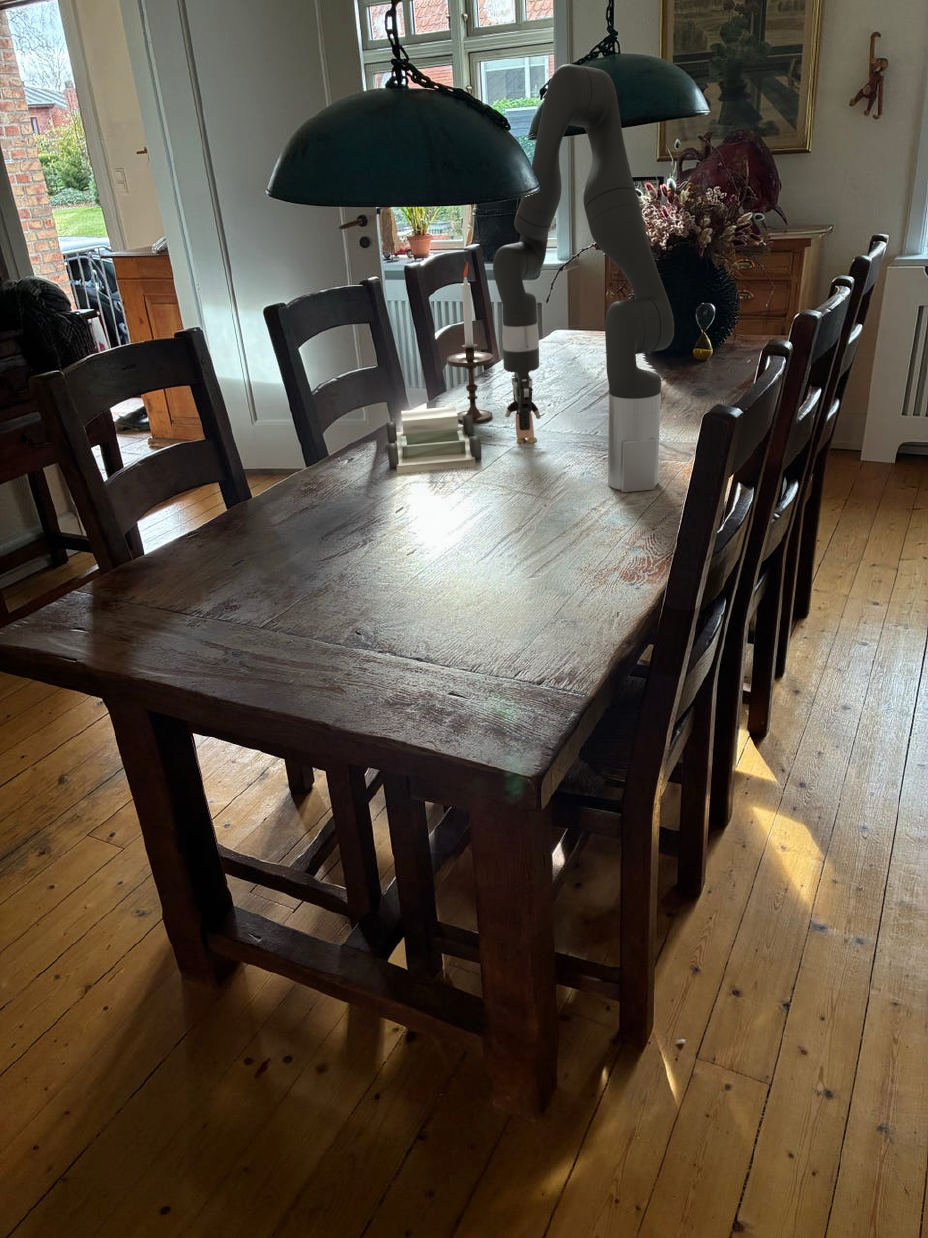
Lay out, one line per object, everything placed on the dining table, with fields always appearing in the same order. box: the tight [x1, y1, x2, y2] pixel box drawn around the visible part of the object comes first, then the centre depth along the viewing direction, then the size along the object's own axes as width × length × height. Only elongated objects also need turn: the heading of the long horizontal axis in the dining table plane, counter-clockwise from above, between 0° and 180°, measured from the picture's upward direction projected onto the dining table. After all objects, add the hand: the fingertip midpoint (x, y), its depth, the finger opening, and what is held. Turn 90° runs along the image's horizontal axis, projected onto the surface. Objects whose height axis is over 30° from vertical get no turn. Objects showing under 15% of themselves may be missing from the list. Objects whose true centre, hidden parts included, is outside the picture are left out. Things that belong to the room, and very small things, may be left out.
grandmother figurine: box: [504, 391, 542, 444], centre depth 197 cm, size 8×4×13 cm, turn 84°
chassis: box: [386, 406, 482, 474], centre depth 196 cm, size 24×19×6 cm
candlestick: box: [446, 261, 495, 425], centre depth 210 cm, size 11×11×35 cm
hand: (523, 426), depth 199 cm, fingers closed on grandmother figurine, 3 cm apart
